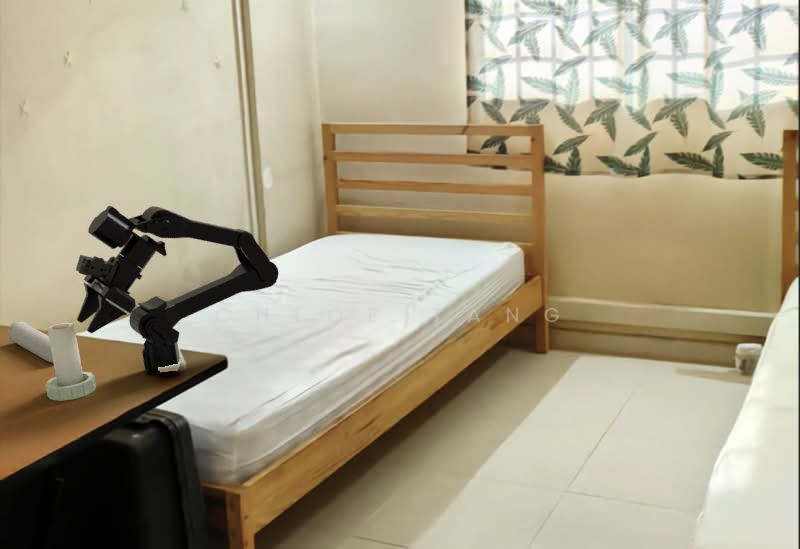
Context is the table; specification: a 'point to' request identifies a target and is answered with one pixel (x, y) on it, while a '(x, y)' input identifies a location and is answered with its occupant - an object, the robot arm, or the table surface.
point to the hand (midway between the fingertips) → (83, 326)
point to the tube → (31, 340)
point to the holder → (71, 388)
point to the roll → (65, 354)
